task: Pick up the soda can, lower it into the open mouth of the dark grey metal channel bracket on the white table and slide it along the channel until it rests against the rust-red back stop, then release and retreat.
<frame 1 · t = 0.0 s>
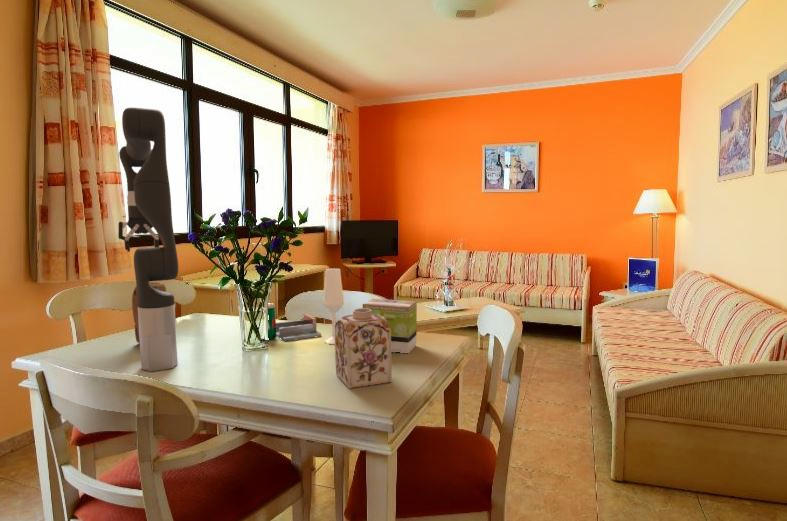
hand: (142, 251, 175), 29 cm above the table, tool pointing down, fingers open, 8 cm apart
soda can: (268, 339, 168), on the table
tea box: (390, 348, 156), on the table
coupler bracket: (294, 333, 175), on the table
block: (151, 344, 163), on the table
decorative jar: (362, 379, 128), on the table
champagne flute: (334, 342, 163), on the table
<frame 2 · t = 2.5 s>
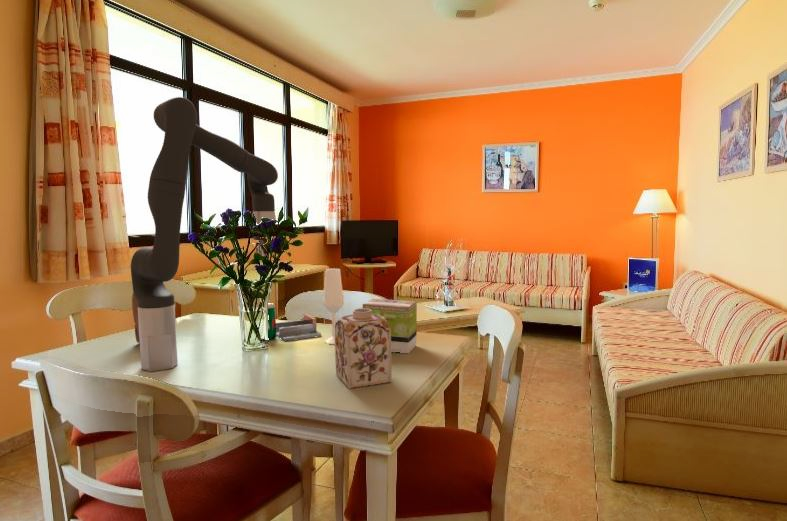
hand: (266, 274, 166), 22 cm above the table, tool pointing down, fingers open, 8 cm apart
nothing on the table moved.
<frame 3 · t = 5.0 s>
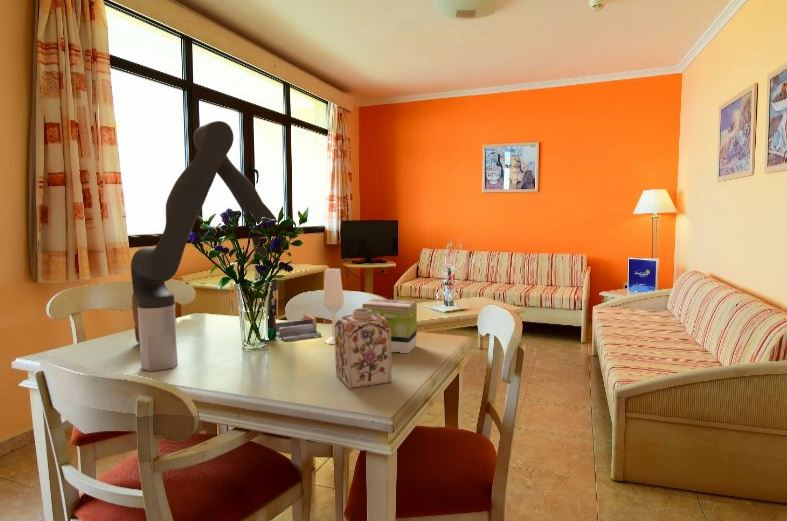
hand: (268, 326, 167), 4 cm above the table, tool pointing down, fingers closed on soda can, 5 cm apart
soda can: (268, 339, 168), on the table, touching gripper
everything else where it was.
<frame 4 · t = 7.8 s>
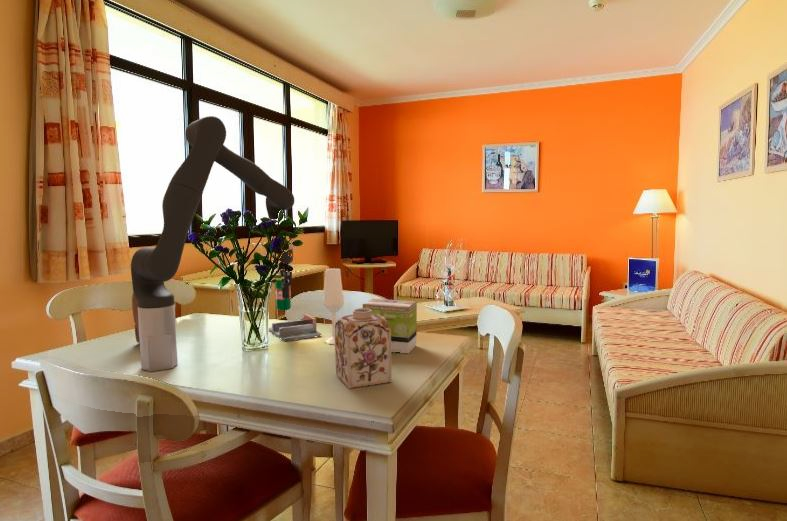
hand: (283, 296, 172), 13 cm above the table, tool pointing down, fingers closed on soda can, 5 cm apart
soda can: (283, 309, 173), point 9 cm above the table, touching gripper
everything else where it was.
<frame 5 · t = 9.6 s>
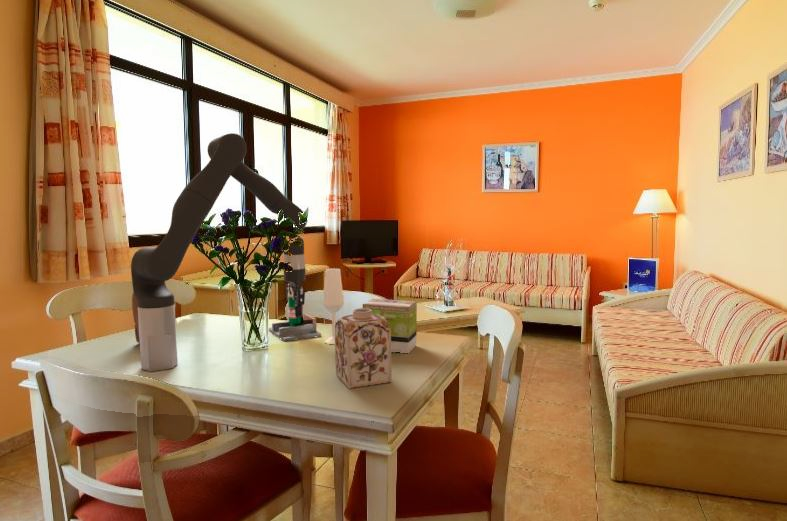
hand: (295, 314, 175), 6 cm above the table, tool pointing down, fingers closed on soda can, 5 cm apart
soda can: (296, 327, 176), point 2 cm above the table, touching gripper
everything else where it was.
when the fingers open (6 cm above the table, at t = 10.8 s): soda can stays where it is, resting on coupler bracket.
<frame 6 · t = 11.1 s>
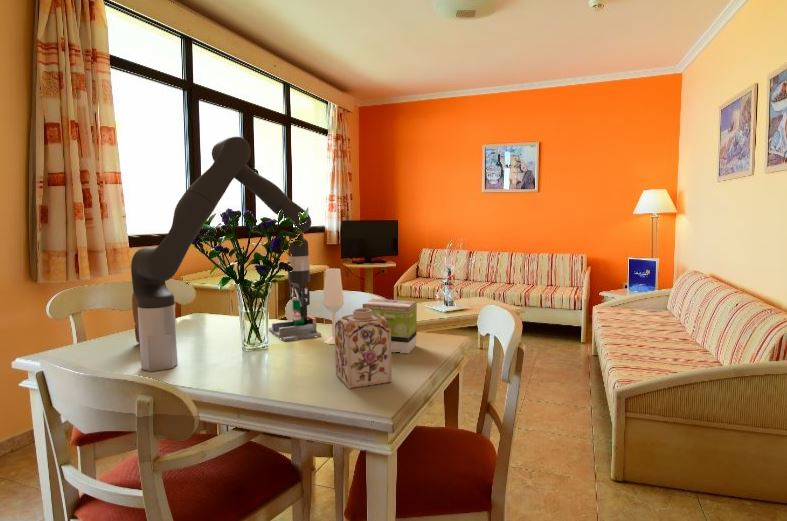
hand: (300, 314, 176), 6 cm above the table, tool pointing down, fingers open, 7 cm apart
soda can: (300, 330, 176), point 1 cm above the table, touching coupler bracket
everything else where it was.
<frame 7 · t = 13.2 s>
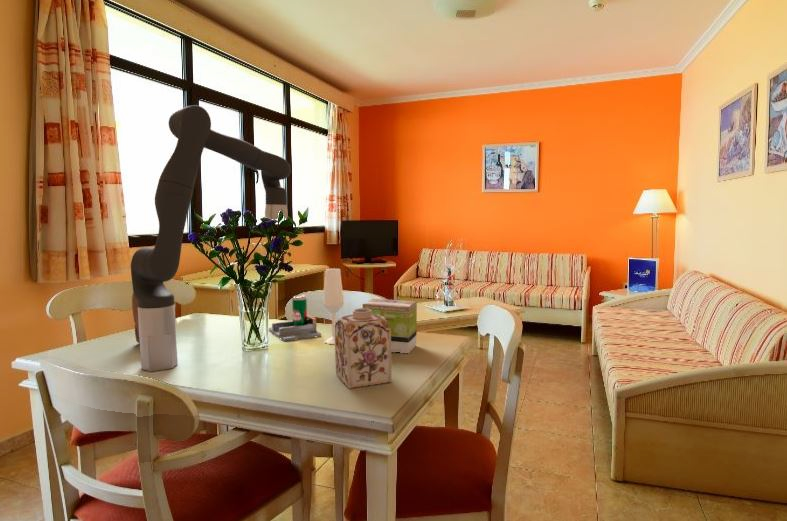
hand: (276, 266, 170), 24 cm above the table, tool pointing down, fingers open, 8 cm apart
nothing on the table moved.
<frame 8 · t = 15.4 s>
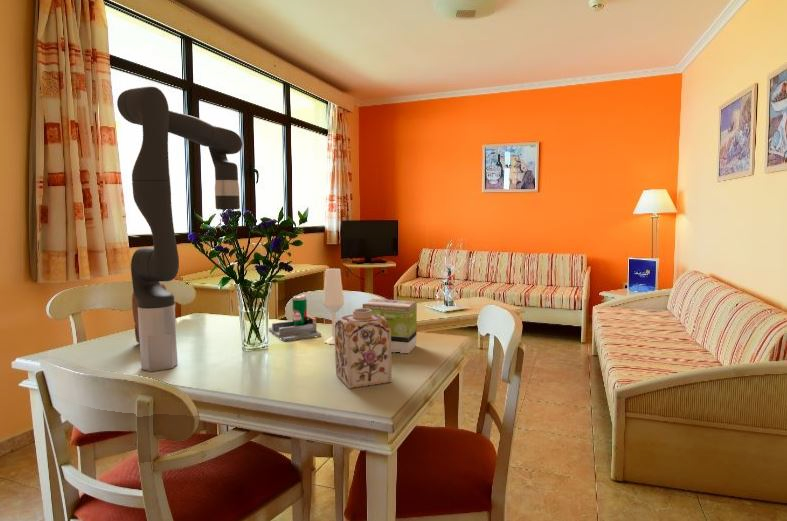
hand: (229, 244, 164), 32 cm above the table, tool pointing down, fingers open, 8 cm apart
nothing on the table moved.
at the end: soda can 0.6 cm from the target spot on the coupler bracket, point 0.8 cm above the coupler bracket's base; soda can tilted 0°; the gripper is holding nothing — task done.
